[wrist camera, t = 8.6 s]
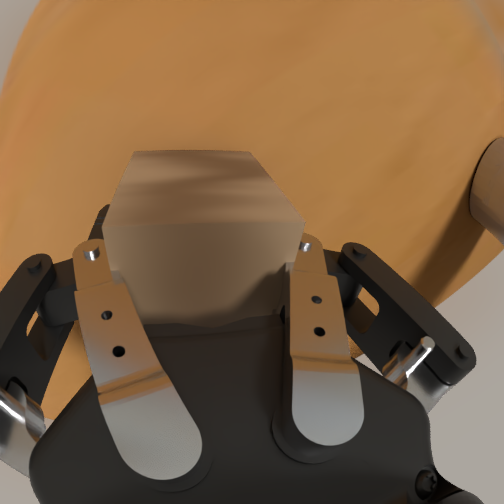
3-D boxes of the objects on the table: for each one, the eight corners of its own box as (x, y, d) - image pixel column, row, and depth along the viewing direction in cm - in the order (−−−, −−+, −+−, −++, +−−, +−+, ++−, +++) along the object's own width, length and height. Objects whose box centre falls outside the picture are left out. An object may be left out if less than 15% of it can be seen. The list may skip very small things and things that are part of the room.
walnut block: (249, 151, 12) (305, 221, 7) (237, 244, 15) (270, 339, 10) (134, 151, 10) (101, 226, 6) (140, 248, 13) (133, 350, 9)
